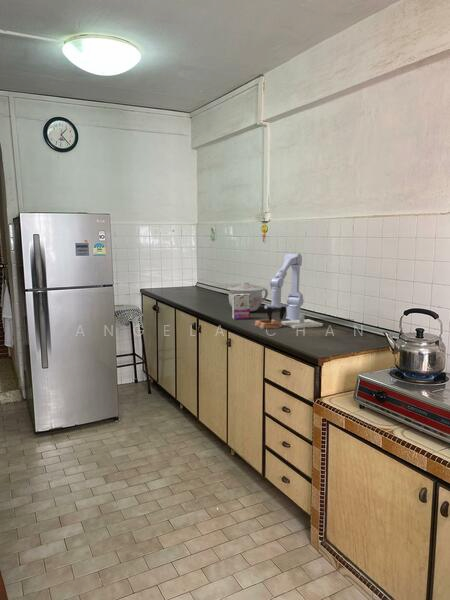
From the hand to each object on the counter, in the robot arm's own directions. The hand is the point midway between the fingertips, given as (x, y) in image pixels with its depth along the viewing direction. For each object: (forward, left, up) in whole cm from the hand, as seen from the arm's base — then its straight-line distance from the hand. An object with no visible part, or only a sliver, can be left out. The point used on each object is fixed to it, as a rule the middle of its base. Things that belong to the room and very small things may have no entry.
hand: (275, 319), depth 279 cm
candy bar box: (-29, -10, -4) cm, 31 cm away
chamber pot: (-56, +6, -4) cm, 57 cm away
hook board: (+3, +17, -4) cm, 18 cm away
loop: (0, -5, -4) cm, 6 cm away
